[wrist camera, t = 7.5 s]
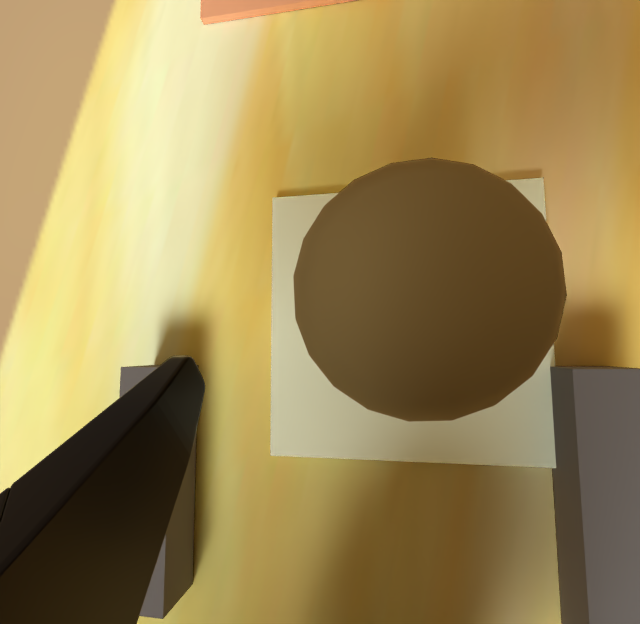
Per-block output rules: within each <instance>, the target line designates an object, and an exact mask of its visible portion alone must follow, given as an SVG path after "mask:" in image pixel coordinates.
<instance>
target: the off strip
mask: <svg viewBox="0 0 640 624" xmlns="http://www.w3.org/2000/svg"><path fill="white" fill-rule="evenodd" d="M350 1H356V0H201V17H200V18H201V20H202V22H203V24H204V25H205V24H211V23H218V22H224V21H230V20H237V19H243V18H249V17H255V16H262V15H268V14H274V13H281V12H287V11H293V10H299V9H306V8H312V7H318V6H325V5H331V4H337V3H344V2H350Z"/></svg>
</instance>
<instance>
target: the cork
mask: <svg viewBox="0 0 640 624" xmlns="http://www.w3.org/2000/svg"><path fill="white" fill-rule="evenodd" d="M293 280H294V301H295V319H296V322H297V324H298V327H299V330H300V333H301V335H302V338H303V341H304V343H305V346H306V349H307V351H308V354H309V356H310V357H311V358H312V360H313V361H314V362H315V363H316V365H317V366H318V367H319V369H320V370H321V371H322V372H323V374H324V375H325V376H326V377H327V379H328V380H329V381H330V383H331V384H332V385H333V386H334V387H335V388H337V389H338V390H340V391H341V392H343V393H344V394H345V395H347V396H348V397H350V398H351V399H353V400H354V401H356V402H357V403H359V404H360V405H362V406H363V407H365V408H366V409H368V410H371V411H374V412H378V413H381V414H384V415H388V416H391V417H395V418H398V419H401V420H405V421H408V422H413V421H452V420H455V419H458V418H461V417H464V416H466V415H469V414H472V413H475V412H478V411H481V410H483V409H486V408H489V407H492V406H494V405H496V404H497V403H499V402H500V401H501V400H503V399H504V398H505V397H506V396H508V395H509V394H510V393H511V392H513V391H514V390H515V389H517V388H518V387H519V386H520V385H522V384H523V383H524V382H526V381H527V380H528V379H529V378H531V377H532V376H533V375H534V373H535V372H536V370H537V368H538V367H539V365H540V364H541V362H542V361H543V359H544V358H545V356H546V354H547V353H548V351H549V350H550V348H551V347H552V345H553V344H554V342H555V340H556V339H557V336H558V331H559V327H560V322H561V318H562V314H563V309H564V305H565V301H566V296H567V294H566V286H565V277H564V269H563V261H562V253H561V250H560V248H559V246H558V244H557V242H556V240H555V238H554V236H553V234H552V232H551V230H550V228H549V226H548V224H547V222H546V220H545V218H544V216H543V214H542V213H541V212H540V211H539V210H538V209H537V208H536V207H535V206H534V205H533V204H532V203H531V202H530V201H529V200H528V199H527V198H526V197H525V196H524V195H523V194H522V193H521V192H520V191H519V190H518V189H517V188H516V187H515V186H513V185H512V184H511V183H509V182H507V181H505V180H503V179H501V178H499V177H497V176H495V175H493V174H491V173H489V172H487V171H485V170H483V169H481V168H479V167H477V166H475V165H473V164H467V163H461V162H454V161H448V160H442V159H436V158H427V159H420V160H412V161H404V162H397V163H391V164H388V165H386V166H384V167H382V168H379V169H377V170H375V171H373V172H370V173H368V174H366V175H364V176H362V177H359V178H357V179H355V180H353V181H352V182H351V183H350V184H349V185H348V186H346V187H345V188H344V189H343V190H342V191H341V192H339V193H338V194H337V195H336V196H335V197H334V198H332V199H331V200H330V201H329V202H328V203H327V204H326V205H324V207H323V208H322V210H321V211H320V213H319V215H318V216H317V218H316V219H315V221H314V223H313V224H312V226H311V227H310V229H309V230H308V232H307V234H306V235H305V237H304V238H303V242H302V246H301V249H300V253H299V257H298V260H297V264H296V268H295V272H294V275H293Z"/></svg>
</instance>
